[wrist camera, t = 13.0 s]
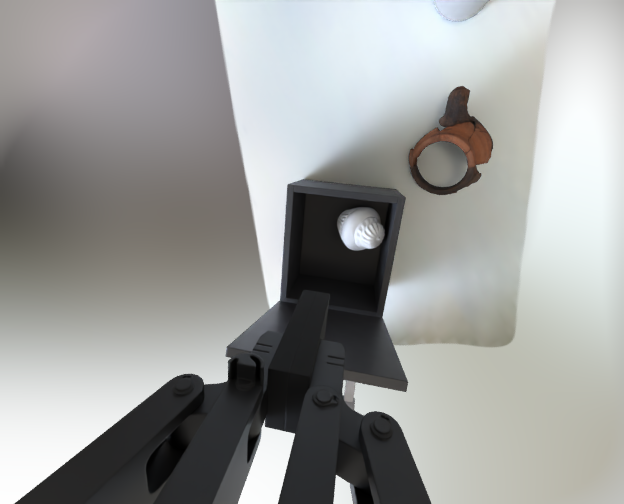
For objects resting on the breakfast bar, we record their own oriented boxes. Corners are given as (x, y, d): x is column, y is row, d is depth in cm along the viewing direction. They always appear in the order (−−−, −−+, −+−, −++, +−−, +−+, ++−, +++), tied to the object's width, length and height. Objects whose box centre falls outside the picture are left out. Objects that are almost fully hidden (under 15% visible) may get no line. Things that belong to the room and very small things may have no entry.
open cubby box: (302, 179, 43) (287, 184, 34) (396, 189, 41) (405, 197, 32) (295, 275, 48) (280, 301, 39) (378, 288, 46) (382, 318, 37)
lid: (226, 346, 22) (218, 411, 22) (408, 381, 20) (397, 451, 21) (279, 300, 38) (274, 338, 39) (382, 317, 37) (376, 357, 37)
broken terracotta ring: (493, 176, 39) (483, 202, 33) (420, 178, 44) (402, 200, 39) (502, 74, 33) (493, 85, 27) (417, 90, 38) (396, 102, 33)
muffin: (320, 222, 39) (353, 242, 34) (351, 190, 39) (388, 206, 34) (340, 247, 43) (372, 269, 38) (368, 218, 44) (403, 237, 38)
